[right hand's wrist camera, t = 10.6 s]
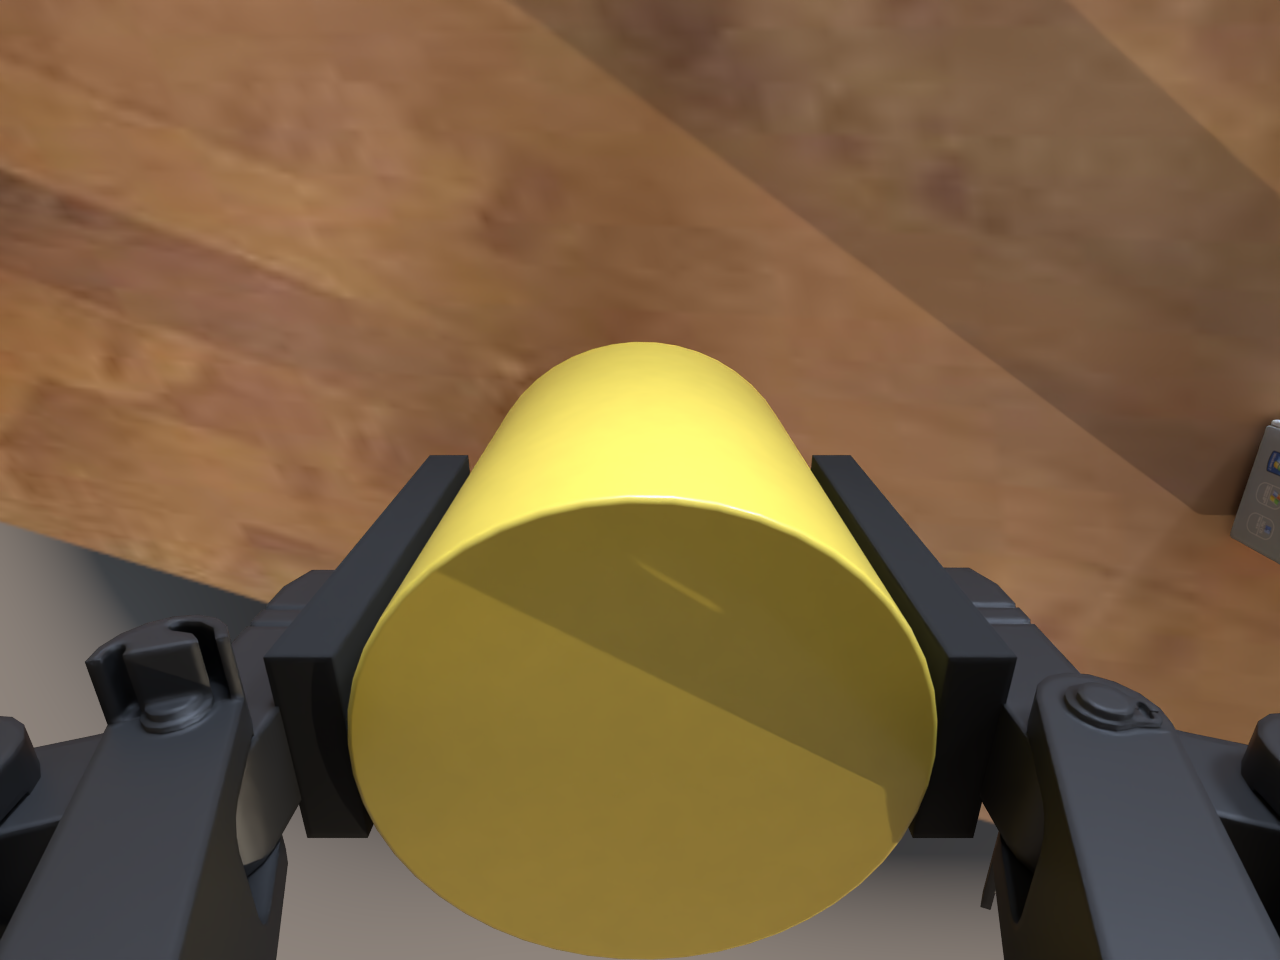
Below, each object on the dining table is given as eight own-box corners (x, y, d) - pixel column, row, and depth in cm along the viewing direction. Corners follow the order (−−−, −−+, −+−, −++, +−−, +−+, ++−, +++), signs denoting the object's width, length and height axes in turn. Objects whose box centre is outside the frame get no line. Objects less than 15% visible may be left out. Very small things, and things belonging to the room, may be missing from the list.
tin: (574, 661, 17) (524, 1016, 10) (430, 423, 15) (218, 647, 7) (835, 559, 16) (1005, 869, 9) (724, 285, 14) (824, 383, 6)
